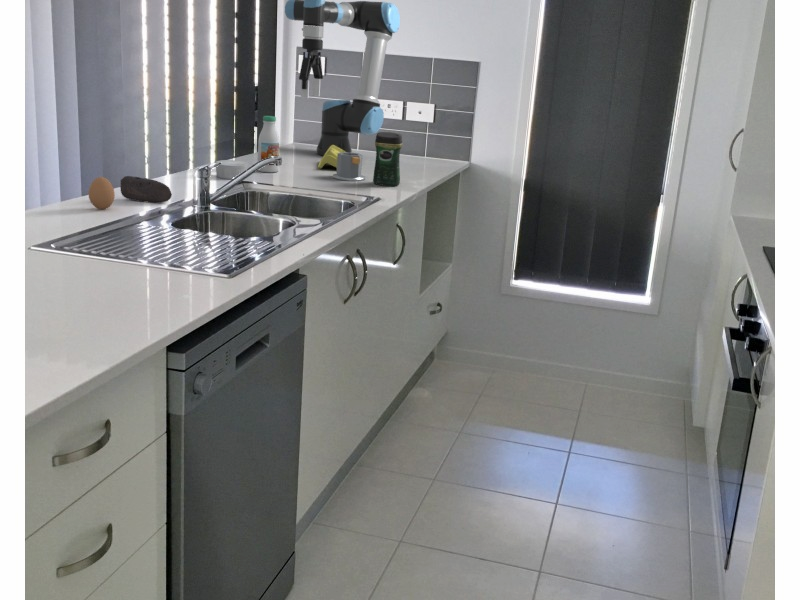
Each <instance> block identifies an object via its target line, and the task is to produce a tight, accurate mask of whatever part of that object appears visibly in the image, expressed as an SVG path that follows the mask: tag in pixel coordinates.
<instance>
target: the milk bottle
mask: <svg viewBox="0 0 800 600" xmlns="http://www.w3.org/2000/svg"><path fill="white" fill-rule="evenodd" d="M262 123H263V124H262V125H263V126H262V128H261V131H260V133H259V136H258V142H257V145H258V146H257V162H258V161H260V160H262V159H265V158H268V157H271V156H279V157H280V137H279V134H278V131H277V128H276V124H277V117H276V116H274V115H263V117H262ZM279 167H280V166H276V165H274V164H269V165H266V166H265V167H263V168H261V169H260V170H258V169H257V171H259V172H263V173H278V172H279V169H280V168H279Z"/></svg>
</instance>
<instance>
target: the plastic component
mask: <svg viewBox="0 0 800 600" xmlns="http://www.w3.org/2000/svg"><path fill="white" fill-rule="evenodd" d="M340 152H345V151H343V150H342V149H340V148H338V147H337V146H335V145H331V146H330V147H329V149H328V150H327V152H326V153H325V155H324V156H323V155H322V157H321V159H320V161H319V163H318V165H317V169H318V170H321V169H323V167H324V166H325V164H328V165H331V166H333V167H334V168H336V169H337V154H338V153H340Z"/></svg>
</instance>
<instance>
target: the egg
mask: <svg viewBox="0 0 800 600" xmlns="http://www.w3.org/2000/svg"><path fill="white" fill-rule="evenodd" d="M115 198H116V197H115V189H114V186H113V185H112V183H111V182H110V180H109V179H107V178H106V177H103V176H100V177H99V176H98V177H96V178H95V179H94V180H93V181H92V182H91V183H90V186H89V187H88V199H89V201H90V202H89V203H91V204H92V205H93V206H94V207H95V208H96V209H97V210H106V208H107V209H108V208H110V207H111V206H112V205H113V203H114V201H115Z"/></svg>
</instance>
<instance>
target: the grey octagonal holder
mask: <svg viewBox="0 0 800 600" xmlns="http://www.w3.org/2000/svg"><path fill="white" fill-rule="evenodd" d="M362 167H363V154H361V153H357V152H352V153H351V152H340V153H338V154H337V168H336V173H335V174H336V175H337V176H339V177H345V178H359V177H361V175H362V169H363V168H362Z"/></svg>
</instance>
